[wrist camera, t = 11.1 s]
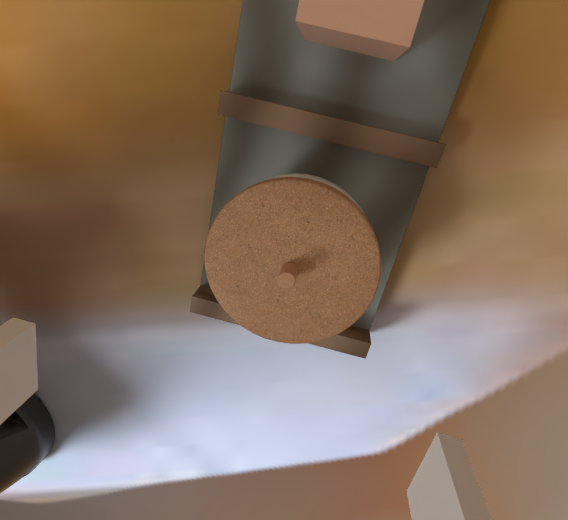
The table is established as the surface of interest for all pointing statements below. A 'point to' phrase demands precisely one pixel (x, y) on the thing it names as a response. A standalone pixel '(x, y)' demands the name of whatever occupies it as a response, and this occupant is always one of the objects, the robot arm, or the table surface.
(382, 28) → the terracotta block
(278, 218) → the lidded jar
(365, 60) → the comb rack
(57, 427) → the table surface
